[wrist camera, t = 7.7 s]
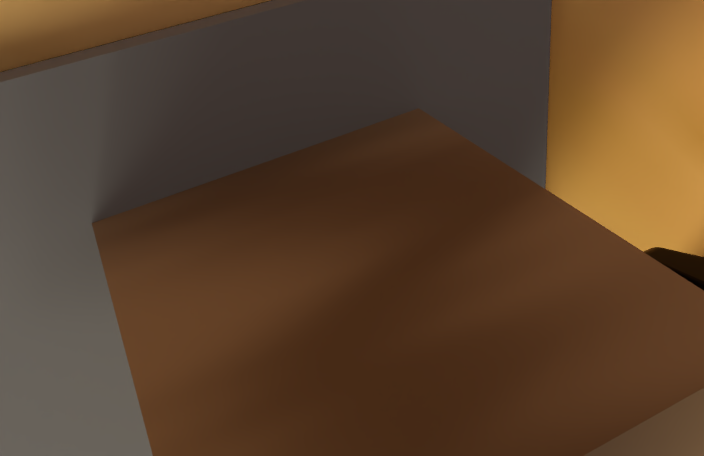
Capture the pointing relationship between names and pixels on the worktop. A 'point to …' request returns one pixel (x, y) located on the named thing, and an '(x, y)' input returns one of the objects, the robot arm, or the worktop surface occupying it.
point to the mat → (214, 160)
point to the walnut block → (399, 311)
